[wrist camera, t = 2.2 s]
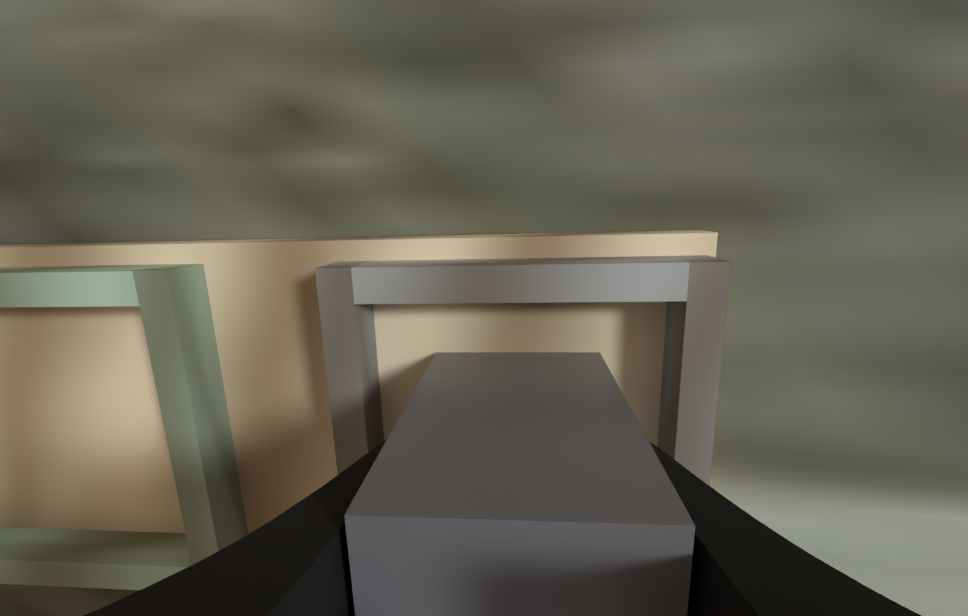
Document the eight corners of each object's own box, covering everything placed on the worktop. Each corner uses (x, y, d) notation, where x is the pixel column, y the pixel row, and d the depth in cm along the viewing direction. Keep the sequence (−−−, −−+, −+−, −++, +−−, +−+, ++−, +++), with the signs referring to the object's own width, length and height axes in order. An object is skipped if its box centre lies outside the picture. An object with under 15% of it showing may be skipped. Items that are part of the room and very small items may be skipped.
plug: (600, 352, 11) (694, 525, 5) (595, 498, 12) (670, 790, 6) (436, 352, 11) (343, 515, 5) (443, 494, 12) (372, 767, 6)
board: (700, 229, 11) (744, 236, 9) (673, 562, 13) (703, 632, 11) (-71, 246, 13) (-191, 255, 10) (17, 538, 15) (-68, 595, 13)
